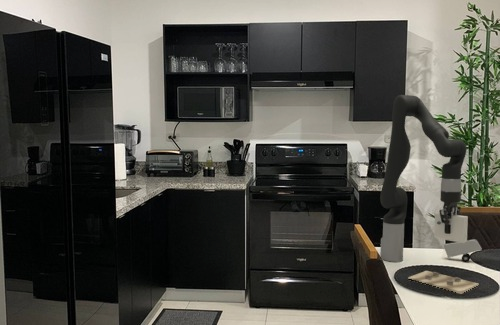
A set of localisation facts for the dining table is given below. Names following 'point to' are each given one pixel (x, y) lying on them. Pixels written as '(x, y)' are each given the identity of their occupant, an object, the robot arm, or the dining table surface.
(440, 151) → the robot arm
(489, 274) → the dining table surface
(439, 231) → the door panel
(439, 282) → the light brown flat board
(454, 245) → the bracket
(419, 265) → the dining table surface
